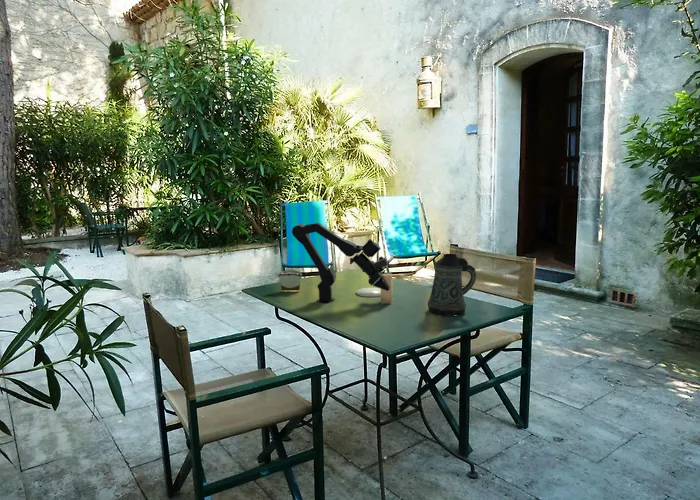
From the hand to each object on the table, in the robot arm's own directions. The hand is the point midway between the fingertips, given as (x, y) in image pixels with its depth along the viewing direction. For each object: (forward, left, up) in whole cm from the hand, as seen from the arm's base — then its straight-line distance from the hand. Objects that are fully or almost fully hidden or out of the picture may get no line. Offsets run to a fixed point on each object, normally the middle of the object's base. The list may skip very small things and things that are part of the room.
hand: (389, 287), depth 256 cm
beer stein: (-2, -30, -7) cm, 31 cm away
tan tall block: (0, +1, -7) cm, 7 cm away
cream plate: (+12, +15, -7) cm, 20 cm away
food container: (0, +54, -7) cm, 55 cm away
